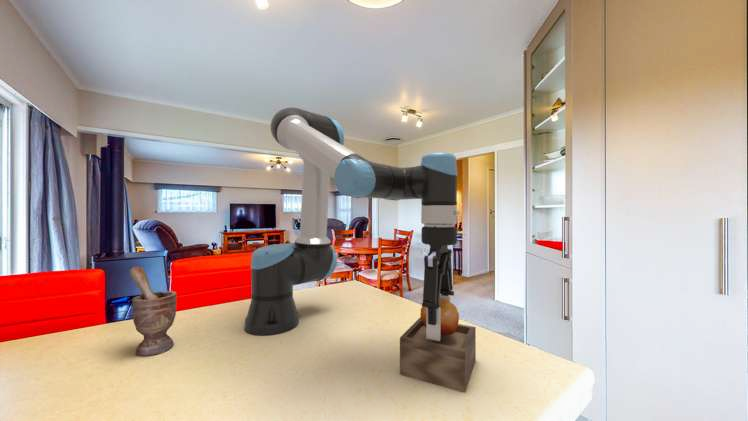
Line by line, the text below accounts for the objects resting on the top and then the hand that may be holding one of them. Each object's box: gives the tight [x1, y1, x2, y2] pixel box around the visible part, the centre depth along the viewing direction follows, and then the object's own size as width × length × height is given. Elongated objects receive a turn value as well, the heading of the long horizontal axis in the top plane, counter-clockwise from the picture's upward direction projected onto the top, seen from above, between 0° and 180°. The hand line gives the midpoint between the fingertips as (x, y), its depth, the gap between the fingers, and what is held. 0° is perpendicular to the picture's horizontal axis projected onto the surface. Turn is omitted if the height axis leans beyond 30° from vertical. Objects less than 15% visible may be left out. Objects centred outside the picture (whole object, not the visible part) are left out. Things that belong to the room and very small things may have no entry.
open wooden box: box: [399, 316, 477, 393], centre depth 62 cm, size 13×13×8 cm
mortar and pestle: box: [129, 265, 178, 357], centre depth 70 cm, size 12×9×20 cm
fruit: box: [419, 298, 460, 335], centre depth 63 cm, size 8×8×8 cm
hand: (439, 331), depth 62 cm, fingers closed on fruit, 8 cm apart
